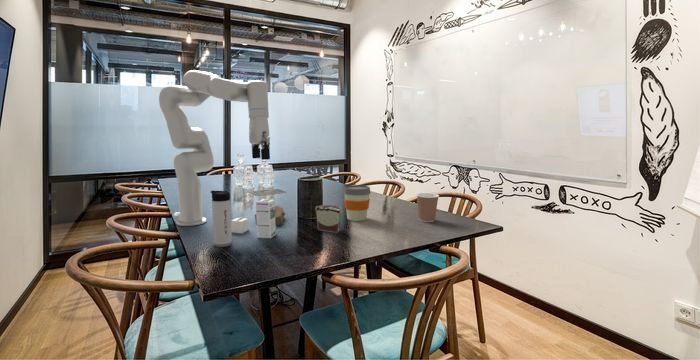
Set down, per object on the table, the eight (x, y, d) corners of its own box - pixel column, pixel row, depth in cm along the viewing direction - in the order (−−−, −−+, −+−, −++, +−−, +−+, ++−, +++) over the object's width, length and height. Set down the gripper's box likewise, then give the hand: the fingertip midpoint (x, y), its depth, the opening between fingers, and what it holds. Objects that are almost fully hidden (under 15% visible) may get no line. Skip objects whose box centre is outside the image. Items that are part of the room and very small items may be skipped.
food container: (347, 229, 160) (347, 206, 159) (341, 233, 155) (341, 209, 153) (322, 226, 166) (321, 203, 164) (314, 229, 160) (314, 206, 159)
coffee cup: (441, 219, 179) (442, 194, 177) (433, 224, 170) (434, 197, 168) (420, 216, 184) (421, 192, 182) (412, 220, 176) (412, 195, 174)
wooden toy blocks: (254, 233, 165) (258, 217, 182) (285, 229, 166) (286, 213, 183) (251, 217, 163) (255, 203, 180) (282, 213, 164) (284, 199, 181)
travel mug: (215, 242, 142) (213, 189, 139) (233, 241, 143) (231, 189, 140) (210, 247, 136) (208, 192, 133) (229, 247, 136) (227, 192, 133)
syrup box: (270, 238, 147) (270, 201, 145) (256, 237, 148) (255, 201, 146) (276, 234, 152) (275, 199, 150) (262, 233, 153) (261, 198, 151)
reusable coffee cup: (370, 221, 173) (371, 189, 171) (343, 221, 173) (343, 189, 171) (369, 215, 186) (369, 185, 184) (343, 215, 186) (344, 184, 184)
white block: (231, 232, 155) (230, 220, 154) (238, 229, 160) (237, 217, 159) (241, 233, 154) (241, 221, 153) (248, 230, 159) (248, 218, 158)
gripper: (241, 115, 150) (244, 158, 153) (257, 113, 136) (259, 160, 138) (259, 115, 154) (262, 157, 157) (276, 113, 140) (279, 159, 142)
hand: (261, 158), depth 147 cm, fingers open, 9 cm apart
